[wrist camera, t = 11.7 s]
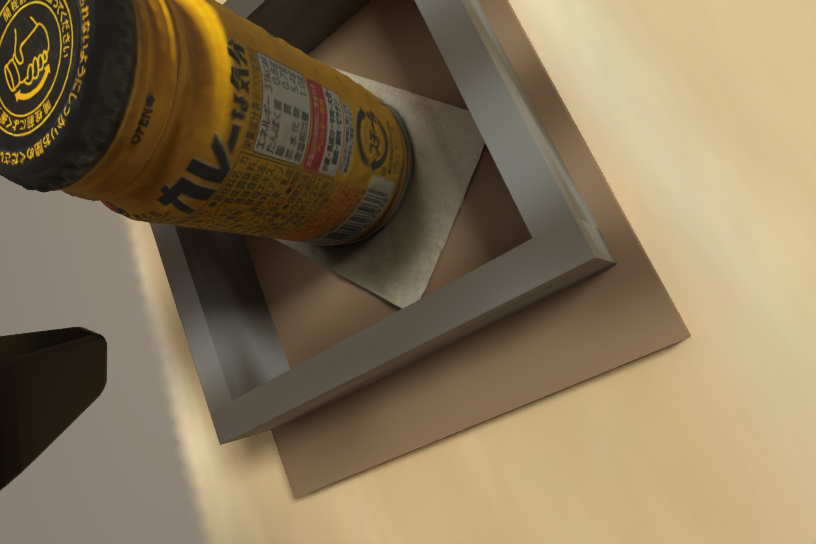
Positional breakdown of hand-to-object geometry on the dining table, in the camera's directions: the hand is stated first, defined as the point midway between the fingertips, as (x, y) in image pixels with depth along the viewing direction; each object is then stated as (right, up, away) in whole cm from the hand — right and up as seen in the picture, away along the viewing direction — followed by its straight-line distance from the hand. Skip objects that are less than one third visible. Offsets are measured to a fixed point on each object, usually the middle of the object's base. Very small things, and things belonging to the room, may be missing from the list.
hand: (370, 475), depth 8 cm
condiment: (-1, +6, +15) cm, 16 cm away
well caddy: (-1, +6, +15) cm, 16 cm away
